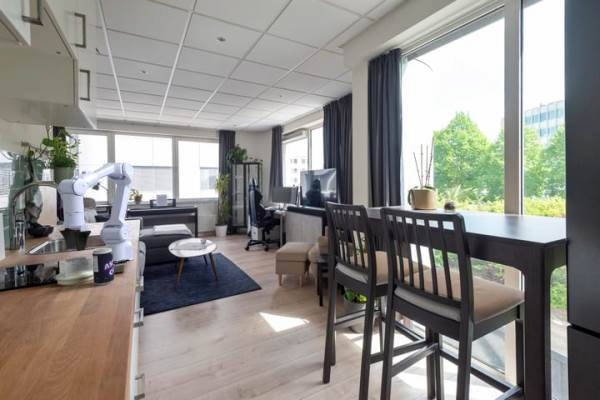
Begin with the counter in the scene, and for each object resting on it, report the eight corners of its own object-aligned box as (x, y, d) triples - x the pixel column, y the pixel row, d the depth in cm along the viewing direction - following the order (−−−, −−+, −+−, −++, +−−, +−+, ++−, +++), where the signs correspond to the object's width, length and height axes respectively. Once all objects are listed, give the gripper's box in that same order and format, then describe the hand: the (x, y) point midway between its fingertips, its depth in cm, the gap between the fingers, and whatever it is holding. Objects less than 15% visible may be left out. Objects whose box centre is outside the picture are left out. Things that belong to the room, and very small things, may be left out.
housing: (87, 269, 103) (86, 255, 103) (93, 271, 101) (92, 256, 100) (59, 275, 96) (59, 260, 96) (65, 277, 94) (64, 262, 94)
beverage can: (106, 286, 92) (104, 250, 92) (89, 286, 93) (87, 250, 92) (117, 280, 98) (116, 246, 97) (102, 280, 98) (100, 246, 98)
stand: (89, 272, 107) (89, 266, 107) (105, 277, 101) (104, 270, 101) (49, 282, 97) (49, 275, 97) (64, 288, 91) (63, 280, 90)
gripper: (51, 212, 101) (54, 249, 102) (69, 214, 94) (71, 254, 94) (75, 210, 107) (77, 245, 108) (93, 212, 100) (95, 249, 101)
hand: (76, 249), depth 102 cm, fingers open, 7 cm apart
